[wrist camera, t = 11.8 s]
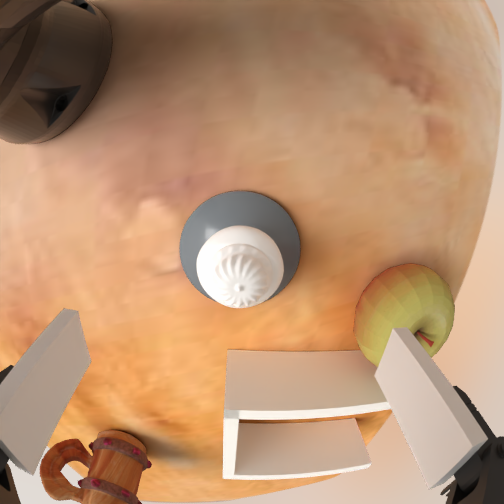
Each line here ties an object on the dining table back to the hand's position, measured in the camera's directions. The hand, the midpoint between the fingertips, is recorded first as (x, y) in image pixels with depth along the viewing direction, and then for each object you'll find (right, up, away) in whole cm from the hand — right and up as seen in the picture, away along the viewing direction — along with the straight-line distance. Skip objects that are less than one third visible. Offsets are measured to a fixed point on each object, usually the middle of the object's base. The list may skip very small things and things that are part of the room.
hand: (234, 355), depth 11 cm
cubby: (+6, -12, +19) cm, 24 cm away
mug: (-21, -23, +22) cm, 38 cm away
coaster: (0, +4, +13) cm, 14 cm away
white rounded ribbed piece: (0, +4, +13) cm, 14 cm away
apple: (+14, -1, +16) cm, 21 cm away
